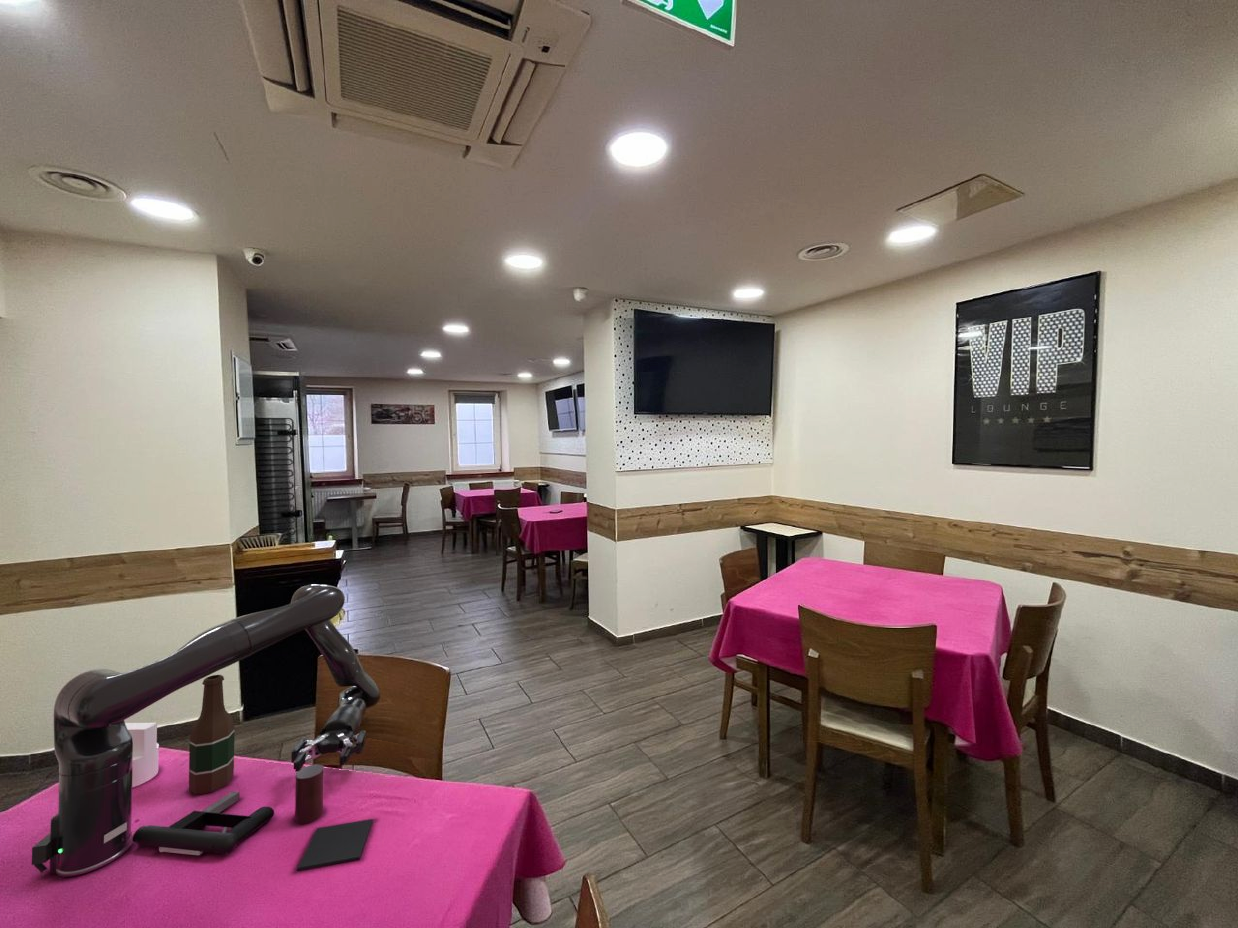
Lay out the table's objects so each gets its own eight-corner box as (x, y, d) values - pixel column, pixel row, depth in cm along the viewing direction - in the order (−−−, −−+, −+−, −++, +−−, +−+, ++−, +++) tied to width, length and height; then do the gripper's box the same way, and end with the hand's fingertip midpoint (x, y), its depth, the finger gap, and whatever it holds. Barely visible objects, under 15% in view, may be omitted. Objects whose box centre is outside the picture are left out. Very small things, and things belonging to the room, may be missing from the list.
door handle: (208, 785, 105) (124, 835, 89) (292, 792, 103) (221, 845, 87) (207, 801, 105) (123, 854, 89) (291, 809, 102) (220, 865, 86)
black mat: (297, 870, 85) (297, 867, 85) (317, 830, 95) (317, 827, 95) (359, 859, 88) (359, 856, 88) (373, 821, 97) (372, 818, 97)
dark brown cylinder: (291, 826, 96) (291, 780, 96) (300, 810, 101) (300, 766, 101) (318, 821, 97) (318, 776, 98) (326, 805, 102) (326, 762, 102)
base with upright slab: (169, 766, 116) (170, 716, 116) (131, 791, 107) (132, 736, 107) (130, 767, 116) (131, 716, 116) (90, 792, 107) (91, 736, 107)
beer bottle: (233, 769, 115) (234, 667, 115) (234, 785, 109) (235, 677, 109) (189, 782, 110) (191, 675, 110) (187, 800, 104) (189, 687, 104)
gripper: (309, 715, 119) (282, 751, 103) (373, 707, 123) (356, 741, 107) (309, 745, 119) (281, 787, 103) (373, 737, 122) (355, 776, 107)
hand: (319, 764), depth 105 cm, fingers open, 8 cm apart
